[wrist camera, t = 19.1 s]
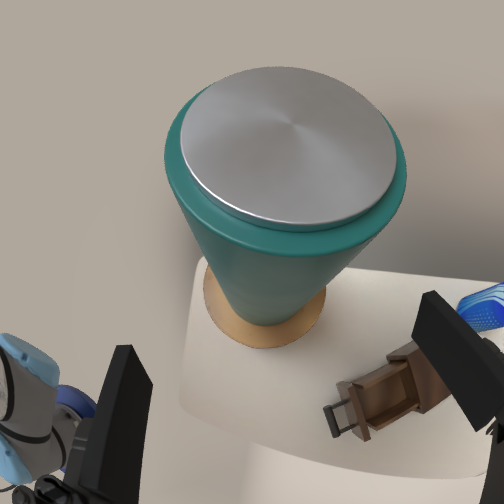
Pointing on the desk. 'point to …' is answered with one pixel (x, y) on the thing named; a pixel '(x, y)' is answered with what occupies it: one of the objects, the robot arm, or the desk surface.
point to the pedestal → (255, 333)
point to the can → (282, 183)
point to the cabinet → (421, 377)
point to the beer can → (484, 309)
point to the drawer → (374, 400)
